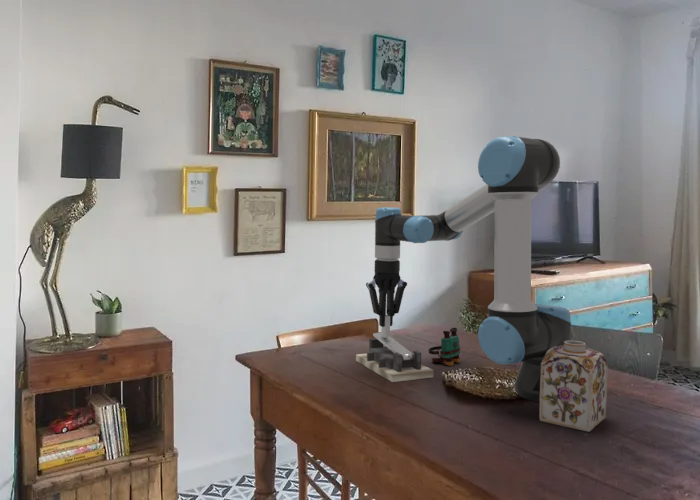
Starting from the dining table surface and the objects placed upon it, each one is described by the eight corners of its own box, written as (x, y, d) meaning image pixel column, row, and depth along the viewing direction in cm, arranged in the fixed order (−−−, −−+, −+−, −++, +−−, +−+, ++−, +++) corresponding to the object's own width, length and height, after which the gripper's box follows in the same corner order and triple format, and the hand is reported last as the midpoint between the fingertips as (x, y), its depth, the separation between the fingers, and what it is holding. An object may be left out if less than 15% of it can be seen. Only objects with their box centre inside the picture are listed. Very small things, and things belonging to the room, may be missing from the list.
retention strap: (415, 360, 179) (415, 354, 179) (402, 361, 178) (403, 355, 177) (384, 336, 197) (384, 330, 196) (372, 337, 195) (373, 331, 195)
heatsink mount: (433, 377, 179) (433, 353, 178) (392, 382, 174) (392, 357, 173) (393, 356, 202) (393, 335, 201) (355, 360, 197) (356, 339, 196)
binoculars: (435, 326, 202) (463, 327, 196) (438, 359, 202) (466, 361, 196) (421, 331, 195) (449, 331, 189) (423, 365, 195) (452, 367, 189)
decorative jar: (537, 421, 143) (539, 343, 142) (556, 408, 152) (558, 334, 151) (591, 433, 136) (594, 350, 135) (607, 418, 145) (610, 341, 144)
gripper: (400, 257, 195) (399, 332, 197) (362, 258, 190) (360, 335, 192) (412, 260, 188) (410, 338, 191) (372, 261, 183) (371, 341, 185)
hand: (385, 336), depth 191 cm, fingers closed
